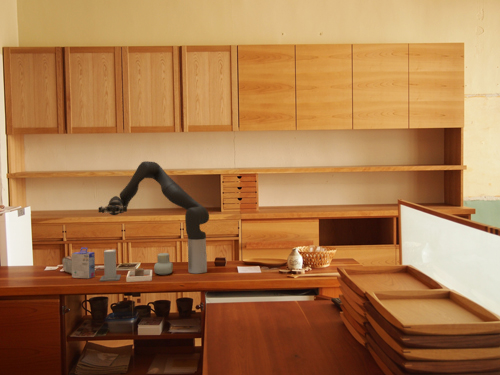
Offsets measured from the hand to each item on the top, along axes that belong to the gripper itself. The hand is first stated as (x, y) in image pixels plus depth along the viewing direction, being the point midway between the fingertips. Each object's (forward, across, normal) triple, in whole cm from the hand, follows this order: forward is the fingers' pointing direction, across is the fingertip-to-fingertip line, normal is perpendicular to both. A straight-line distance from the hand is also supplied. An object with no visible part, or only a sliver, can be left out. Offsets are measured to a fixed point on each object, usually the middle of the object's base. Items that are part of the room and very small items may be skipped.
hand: (111, 210), depth 233 cm
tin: (-4, -22, +32) cm, 39 cm away
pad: (+13, 0, +32) cm, 34 cm away
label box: (+12, 0, +31) cm, 34 cm away
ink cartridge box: (+6, -14, +32) cm, 35 cm away
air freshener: (+8, +26, +32) cm, 42 cm away
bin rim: (+14, +14, +32) cm, 38 cm away
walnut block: (+17, +14, +32) cm, 39 cm away
